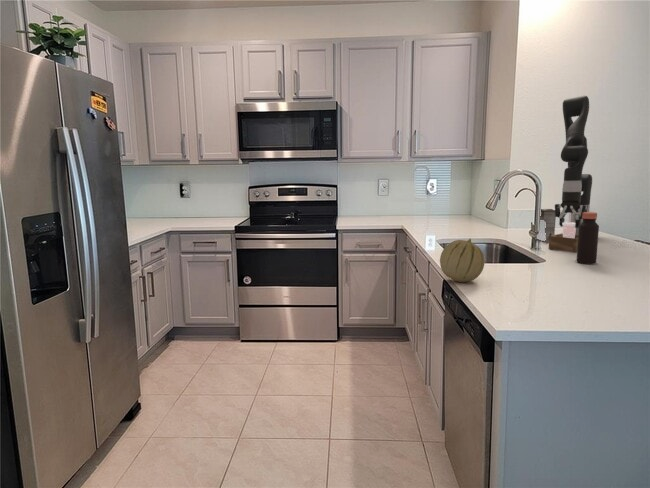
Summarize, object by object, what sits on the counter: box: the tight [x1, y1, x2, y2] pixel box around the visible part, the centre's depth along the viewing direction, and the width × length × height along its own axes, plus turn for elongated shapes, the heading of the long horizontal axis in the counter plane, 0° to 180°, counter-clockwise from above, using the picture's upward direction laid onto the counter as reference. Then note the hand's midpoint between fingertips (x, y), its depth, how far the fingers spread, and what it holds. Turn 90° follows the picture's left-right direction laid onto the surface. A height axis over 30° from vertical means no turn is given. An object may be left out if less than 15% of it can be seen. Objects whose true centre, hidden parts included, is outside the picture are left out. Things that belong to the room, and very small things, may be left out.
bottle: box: [575, 211, 600, 265], centre depth 171 cm, size 7×7×20 cm
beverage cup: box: [562, 213, 576, 238], centre depth 200 cm, size 6×6×14 cm
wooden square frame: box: [548, 232, 578, 253], centre depth 201 cm, size 12×12×6 cm
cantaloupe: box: [439, 238, 485, 283], centre depth 149 cm, size 15×15×15 cm
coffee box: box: [540, 208, 557, 243], centre depth 224 cm, size 9×6×16 cm
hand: (569, 226), depth 200 cm, fingers closed on beverage cup, 6 cm apart
